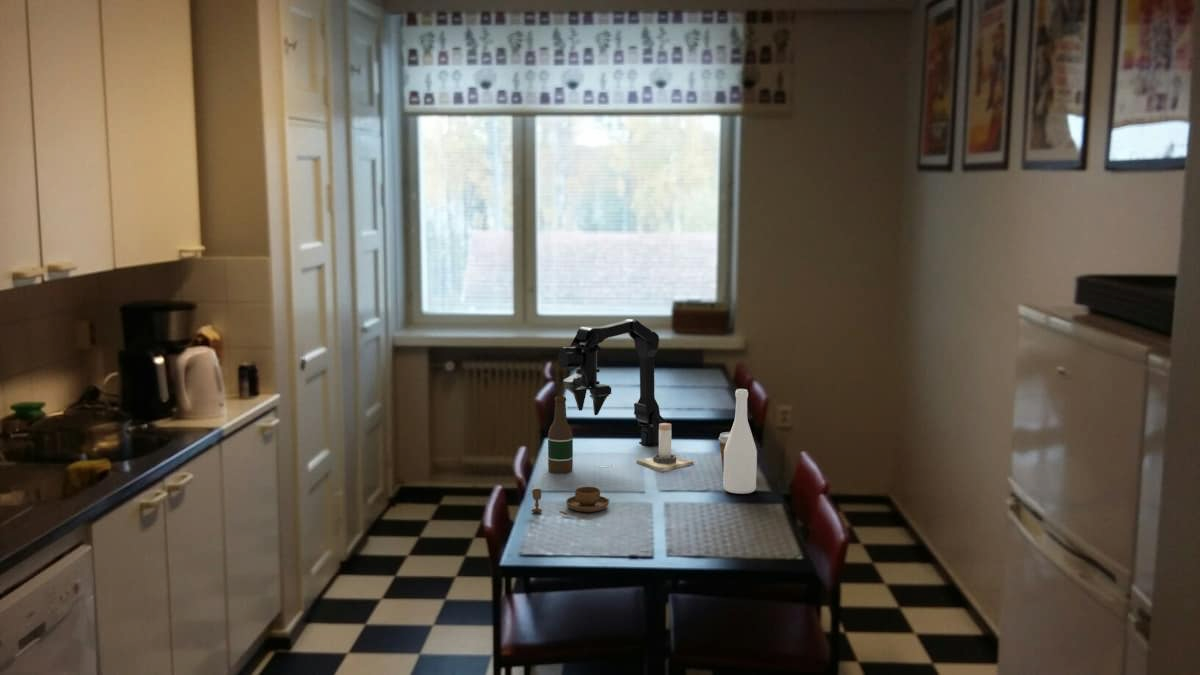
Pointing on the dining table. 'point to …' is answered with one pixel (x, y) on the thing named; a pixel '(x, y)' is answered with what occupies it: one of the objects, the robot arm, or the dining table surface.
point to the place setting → (579, 500)
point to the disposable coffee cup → (723, 444)
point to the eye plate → (665, 466)
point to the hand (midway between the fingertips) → (588, 412)
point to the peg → (665, 440)
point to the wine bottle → (740, 451)
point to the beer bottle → (560, 441)
